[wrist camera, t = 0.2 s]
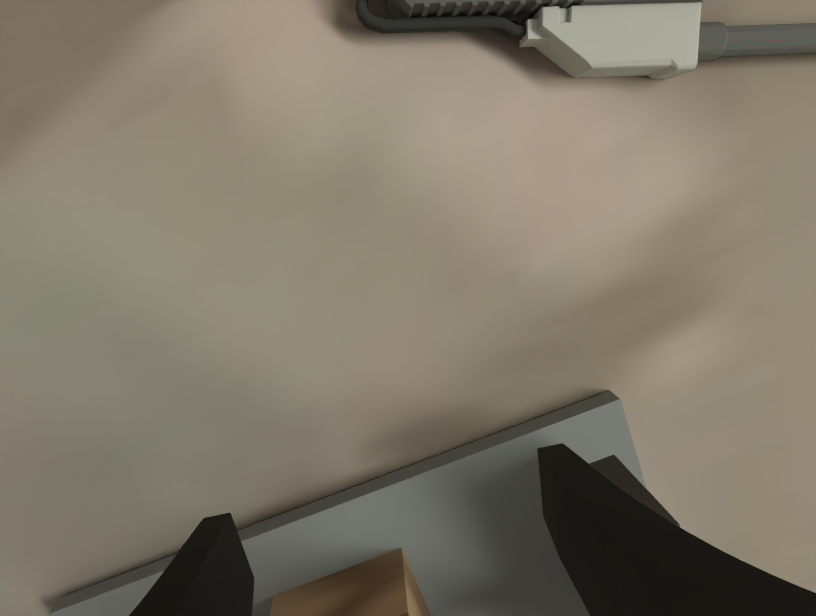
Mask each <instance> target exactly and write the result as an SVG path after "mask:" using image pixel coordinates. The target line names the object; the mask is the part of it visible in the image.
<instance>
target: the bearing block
mask: <svg viewBox="0 0 816 616" xmlns="http://www.w3.org/2000/svg"><path fill="white" fill-rule="evenodd" d="M269 616H431V614H430V611H429V609H428V607H427V605H426V602H425V600H424V598H423V595H422V593H421V591H420V588H419V586H418V584H417V581H416V579H415V577H414V574H413V572H412V570H411V567H410V565H409V563H408V561H407V558H406V556H405V554H404V551H403V549H402V548H399V549H397V550H394V551H391V552H389V553H386V554H383V555H381V556H378V557H375V558H373V559H370V560H367V561H365V562H362V563H359V564H357V565H354V566H351V567H349V568H346V569H343V570H341V571H338V572H335V573H333V574H330V575H327V576H325V577H322V578H319V579H317V580H314V581H311V582H309V583H306V584H303V585H301V586H298V587H295V588H293V589H290V590H287V591H285V592H282V593H279V594H277V595H274V598H273V602H272V606H271V611H270V615H269Z"/></svg>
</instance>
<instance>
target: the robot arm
mask: <svg viewBox="0 0 816 616" xmlns="http://www.w3.org/2000/svg"><path fill="white" fill-rule="evenodd" d="M537 452H538V463H539V474H540V486H541V497H542V509H543V517H544V520H545V522H546V525H547V527H548V530H549V533H550V535H551V538H552V540H553V543H554V545H555V548H556V550H557V553H558V555H559V558H560V560H561V562H562V563H563V565H564V567H565V569H566V571H567V573H568V575H569V577H570V579H571V581H572V583H573V584H574V586H575V588H576V590H577V592H578V594H579V596H580V598H581V599H582V601H583V603H584V605H585V607H586V609H587V611H588V613H589V614H590V616H816V593H814V592H812V591H809V590H807V589H804V588H801V587H799V586H797V585H794V584H792V583H790V582H787V581H785V580H783V579H780V578H778V577H776V576H773V575H771V574H769V573H767V572H765V571H763V570H760V569H758V568H756V567H754V566H752V565H750V564H748V563H745V562H743V561H741V560H739V559H737V558H735V557H733V556H731V555H729V554H727V553H725V552H723V551H721V550H719V549H717V548H716V547H714V546H712V545H710V544H708V543H706V542H705V541H703V540H701V539H699V538H697V537H696V536H694V535H692V534H690V533H688V532H687V531H685V530H683V529H682V528H680V527H678V526H676V525H675V524H673V523H672V522H670V521H668V520H667V519H665V518H664V517H662V516H661V515H659V514H658V513H656V512H655V511H653V510H652V509H650V508H649V507H647V506H646V505H644V504H643V503H641V502H640V501H638V500H637V499H636V498H634V497H633V496H631V495H630V494H629V493H627V492H626V491H624V490H623V489H622V488H620V487H619V486H617V485H616V484H615V483H613V482H612V481H611V480H609V479H608V478H607V477H605V476H604V475H603V474H602V473H600V472H599V471H598V470H596V469H595V468H594V467H593V466H591V465H590V464H589V463H587V462H586V461H585V460H584V459H582V458H581V457H580V456H579V455H577V454H576V453H575V452H574V451H572V450H571V449H570V448H569V447H567V446H566V445H565V444H563V443H561V444H556V445H551V446H546V447H542V448H537ZM254 579H255V578H254V575H253V573H252V570H251V567H250V565H249V562H248V559H247V556H246V554H245V551H244V548H243V546H242V543H241V540H240V538H239V535H238V532H237V529H236V527H235V524H234V521H233V519H232V516H231V513H226V514H222V515H217V516H212V517H207V518H204V519H203V520H202V521H201V522H200V524H199V525H198V526H197V528H196V529H195V530H194V532H193V533H192V534H191V536H190V537H189V538H188V540H187V541H186V542H185V544H184V545H183V546H182V548H181V549H180V550H179V552H178V553H177V555H176V556H175V557H174V559H173V560H172V561H171V563H170V564H169V565H168V567H167V568H166V569H165V571H164V572H163V573H162V575H161V576H160V577H159V578H158V580H157V581H156V582H155V584H154V585H153V586H152V588H151V589H150V590H149V591H148V593H147V594H146V595H145V597H144V598H143V599H142V600H141V602H140V603H139V604H138V605H137V606H136V608H135V609H134V610H133V611H132V613H131V614H130V615H129V616H252V607H253V594H254Z"/></svg>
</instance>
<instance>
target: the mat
mask: <svg viewBox="0 0 816 616" xmlns="http://www.w3.org/2000/svg"><path fill="white" fill-rule="evenodd" d="M561 443H563V444H565V445H566V446H567V447H569V448H570V449H571V450H572V451H574V452H575V453H576V454H577V455H579V456H580V457H581V458H582V459H584V460H585V461H586V462H587V463H592V462H595V461H597V460H600V459H603V458H605V457H608V456H611V455H613V454H614V455H615V456H616V457H617V458H618V459H619V460H620V461H621V462H622V463H623V464H624V465H625V467H626V468H627V469H628V470H629V471H630V472H631V473H632V474H633V475H634V476H635V477H636V478H637V479H638V481H639V482H640V483H641V484H642V485H643V486H644V487H645V488H646V486H645V482H644V479H643V475H642V472H641V469H640V465H639V462H638V458H637V455H636V452H635V448H634V445H633V442H632V438H631V435H630V431H629V428H628V425H627V421H626V418H625V414H624V411H623V408H622V404H621V401H620V399H619V398H618V397H617V396H616V395H614V394H613V393H612V392H611V391H610V390H609V391H607V392H604V393H601V394H599V395H596V396H594V397H591V398H588V399H586V400H583V401H580V402H578V403H575V404H572V405H570V406H567V407H564V408H562V409H559V410H556V411H554V412H551V413H548V414H546V415H543V416H540V417H538V418H535V419H532V420H530V421H527V422H524V423H522V424H519V425H517V426H514V427H511V428H509V429H506V430H503V431H501V432H498V433H495V434H493V435H490V436H487V437H485V438H482V439H479V440H477V441H474V442H471V443H469V444H466V445H463V446H461V447H458V448H455V449H453V450H450V451H447V452H445V453H442V454H439V455H437V456H434V457H432V458H429V459H426V460H424V461H421V462H418V463H416V464H413V465H410V466H408V467H405V468H402V469H400V470H397V471H394V472H392V473H389V474H386V475H384V476H381V477H378V478H376V479H373V480H370V481H368V482H365V483H362V484H360V485H357V486H355V487H352V488H349V489H347V490H344V491H341V492H339V493H336V494H333V495H331V496H328V497H325V498H323V499H320V500H317V501H315V502H312V503H309V504H307V505H304V506H301V507H299V508H296V509H293V510H291V511H288V512H285V513H283V514H280V515H278V516H275V517H272V518H270V519H267V520H264V521H262V522H259V523H256V524H254V525H251V526H248V527H246V528H243V529H240V530H238V531H237V532H238V535H239V538H240V540H241V543H242V546H243V548H244V551H245V554H246V556H247V559H248V562H249V565H250V567H251V570H252V573H253V575H254V578H255V579H254V594H253V607H252V616H269V615H270V611H271V606H272V602H273V598H274V595H277V594H279V593H282V592H285V591H287V590H290V589H293V588H295V587H298V586H301V585H303V584H306V583H309V582H311V581H314V580H317V579H319V578H322V577H325V576H327V575H330V574H333V573H335V572H338V571H341V570H343V569H346V568H349V567H351V566H354V565H357V564H359V563H362V562H365V561H367V560H370V559H373V558H375V557H378V556H381V555H383V554H386V553H389V552H391V551H394V550H397V549H399V548H402V549H403V551H404V554H405V556H406V558H407V561H408V563H409V565H410V567H411V570H412V572H413V574H414V577H415V579H416V581H417V584H418V586H419V588H420V591H421V593H422V595H423V598H424V600H425V602H426V605H427V607H428V609H429V611H430V614H431V616H590V614H589V613H588V611H587V609H586V607H585V605H584V603H583V601H582V599H581V598H580V596H579V594H578V592H577V590H576V588H575V586H574V584H573V583H572V581H571V579H570V577H569V575H568V573H567V571H566V569H565V567H564V565H563V563H562V562H561V560H560V558H559V555H558V553H557V550H556V548H555V545H554V543H553V540H552V538H551V535H550V533H549V530H548V527H547V525H546V522H545V520H544V517H543V509H542V497H541V486H540V474H539V463H538V452H537V448H542V447H546V446H551V445H556V444H561ZM176 555H177V554H174V555H171V556H169V557H166V558H163V559H161V560H158V561H155V562H153V563H150V564H147V565H145V566H142V567H139V568H137V569H134V570H131V571H129V572H126V573H123V574H121V575H118V576H116V577H113V578H110V579H108V580H105V581H102V582H100V583H97V584H94V585H92V586H89V587H86V588H84V589H81V590H78V591H76V592H73V593H70V594H68V595H65V596H62V597H61V599H60V600H59V601H58V603H57V604H56V605H55V607H54V608H53V609H52V611H51V612H50V613H49V614H50V616H129V615H130V614H131V613H132V611H133V610H134V609H135V608H136V606H137V605H138V604H139V603H140V602H141V600H142V599H143V598H144V597H145V595H146V594H147V593H148V591H149V590H150V589H151V588H152V586H153V585H154V584H155V582H156V581H157V580H158V578H159V577H160V576H161V575H162V573H163V572H164V571H165V569H166V568H167V567H168V565H169V564H170V563H171V561H172V560H173V559H174V557H175V556H176Z"/></svg>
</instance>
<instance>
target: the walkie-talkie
mask: <svg viewBox="0 0 816 616" xmlns="http://www.w3.org/2000/svg"><path fill="white" fill-rule="evenodd" d="M704 1H705V0H387V6H388V10H389V11H390V12H391V13H392V14H393V15H394V16H395V17H396V18H380V17H376V16H374V15H372V14H371V13H370V12H368V10H367V4H368V0H357V2H356V12H357V16H358V19H359V20H360V22H361V23H362V24H363V25H364V26H365V27H366V28H368V29H370V30H373V31H377V32H380V33H408V32H438V31H469V30H488V31H495V32H499V33H500V34H502V35H504V36H506V37H508V38H511V39H516V40H519V47H535V48H536V49H537V50H539V51H540V52H541V53H542V54H544V55H545V56H546V57H547V58H549V59H550V60H551V61H553V62H554V63H555V64H556V65H558V66H559V67H560V68H561V69H563V70H564V71H565V72H566V73H568V74H569V75H570V76H572V77H574V78H585V77H615V76H644V75H648V76H649V77H650V78H652V79H665V78H673V77H675V76H678V75H681V74H683V73H686V72H689V71H691V70H694V69H695V67H696V65H697V61H714V60H716V59H717V58H718V57H726V56H752V55H779V54H805V53H816V23H810V24H781V25H751V26H725V25H724V24H723V23H720V22H704V23H700V13H701V2H704ZM511 21H518V24H522V23H523V22H524V21H526V22H525V23H524V24H523V25H516V24H514V23H513V22H511Z"/></svg>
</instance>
